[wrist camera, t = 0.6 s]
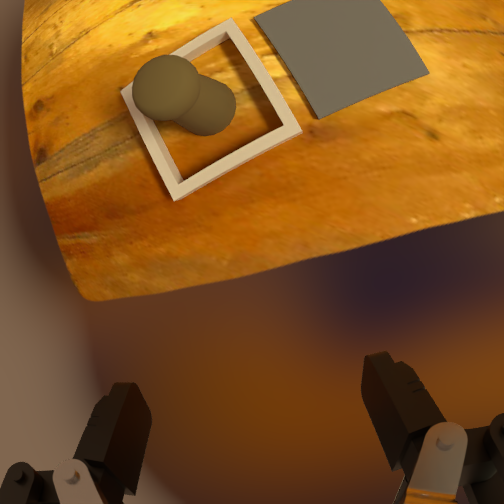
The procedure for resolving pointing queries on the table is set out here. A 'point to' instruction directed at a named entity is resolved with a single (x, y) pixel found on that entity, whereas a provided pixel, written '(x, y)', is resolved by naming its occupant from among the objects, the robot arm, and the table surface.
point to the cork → (182, 96)
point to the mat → (341, 50)
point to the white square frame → (238, 157)
